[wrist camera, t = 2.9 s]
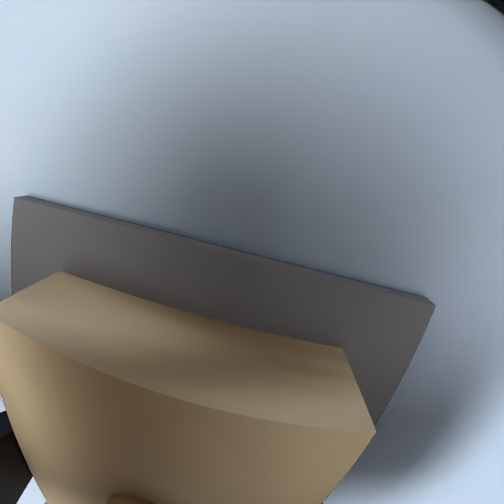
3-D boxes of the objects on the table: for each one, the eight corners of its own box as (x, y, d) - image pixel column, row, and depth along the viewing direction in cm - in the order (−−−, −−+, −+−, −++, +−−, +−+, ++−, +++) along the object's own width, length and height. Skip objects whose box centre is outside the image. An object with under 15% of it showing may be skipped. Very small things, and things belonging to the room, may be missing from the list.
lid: (342, 348, 7) (384, 453, 3) (248, 521, 9) (243, 585, 5) (61, 271, 7) (-34, 320, 3) (82, 472, 9) (51, 526, 5)
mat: (426, 298, 7) (435, 305, 6) (284, 528, 9) (285, 537, 9) (25, 196, 7) (14, 197, 6) (54, 462, 9) (50, 468, 9)
